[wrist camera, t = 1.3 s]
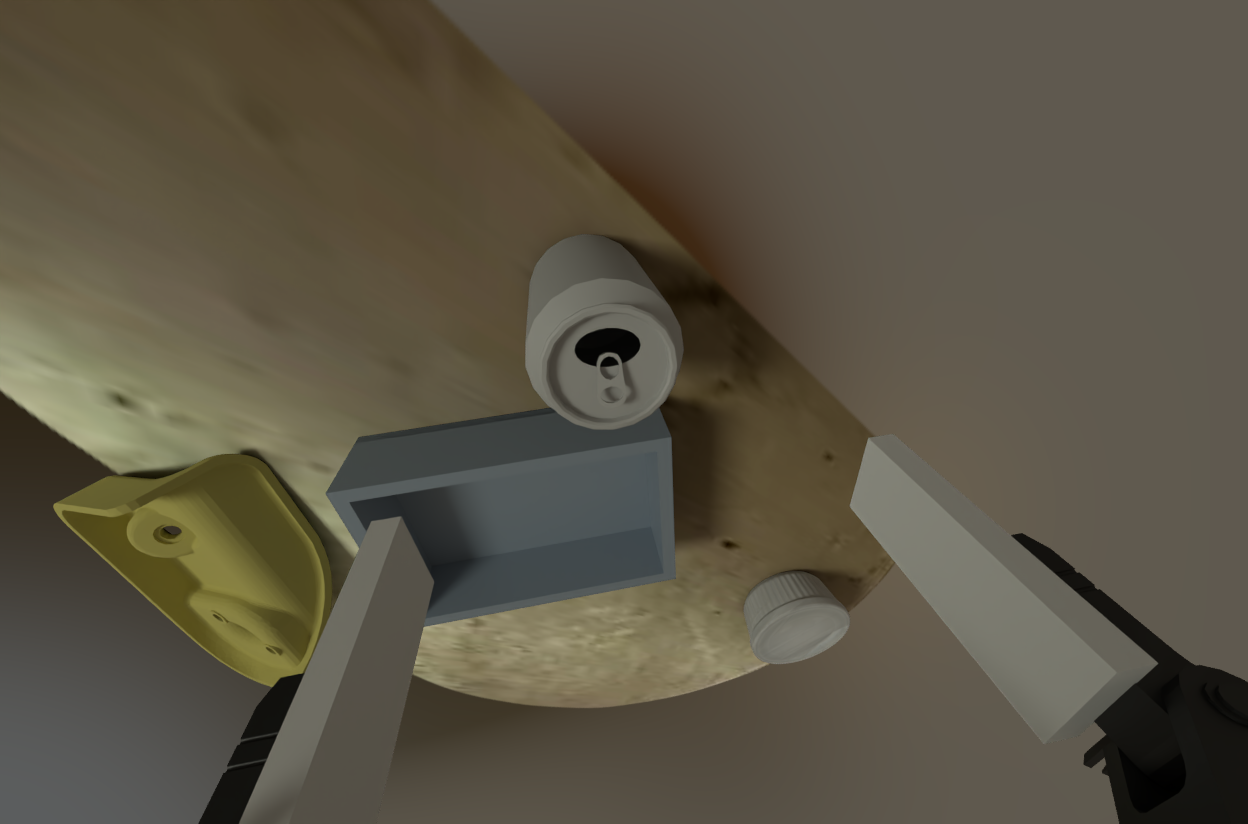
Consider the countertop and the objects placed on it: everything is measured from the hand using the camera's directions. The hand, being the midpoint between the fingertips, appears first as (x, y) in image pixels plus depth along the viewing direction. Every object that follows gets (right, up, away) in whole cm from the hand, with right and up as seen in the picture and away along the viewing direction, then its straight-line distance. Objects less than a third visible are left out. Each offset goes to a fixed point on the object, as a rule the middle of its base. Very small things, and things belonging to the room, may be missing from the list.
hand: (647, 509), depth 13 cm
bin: (-9, -4, +25) cm, 27 cm away
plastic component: (-32, -8, +24) cm, 41 cm away
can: (-3, +11, +17) cm, 20 cm away
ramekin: (+18, -19, +40) cm, 47 cm away
